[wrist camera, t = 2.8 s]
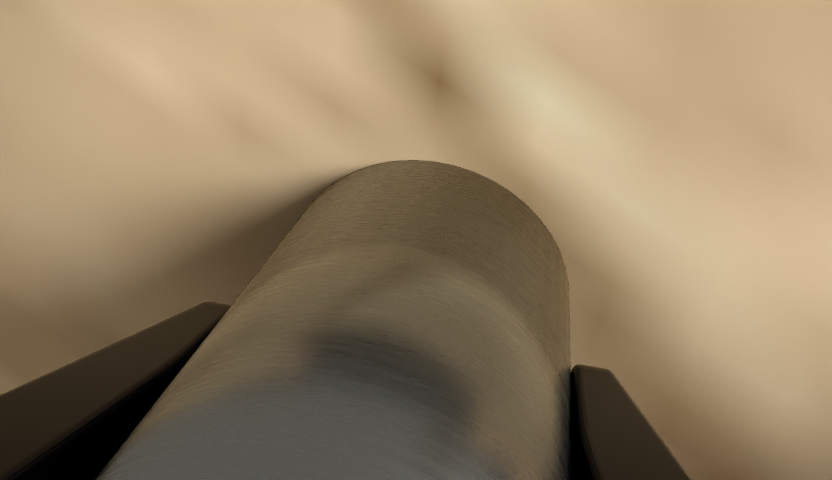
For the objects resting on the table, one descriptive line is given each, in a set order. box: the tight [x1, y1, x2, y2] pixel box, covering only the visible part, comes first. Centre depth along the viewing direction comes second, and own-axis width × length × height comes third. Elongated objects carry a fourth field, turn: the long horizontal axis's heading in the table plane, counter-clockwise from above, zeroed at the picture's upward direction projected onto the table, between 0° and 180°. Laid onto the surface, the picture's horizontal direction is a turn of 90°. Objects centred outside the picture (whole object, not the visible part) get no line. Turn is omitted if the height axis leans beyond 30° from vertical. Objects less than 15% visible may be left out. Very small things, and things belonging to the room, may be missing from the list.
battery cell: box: [95, 160, 573, 480], centre depth 6 cm, size 4×4×7 cm
